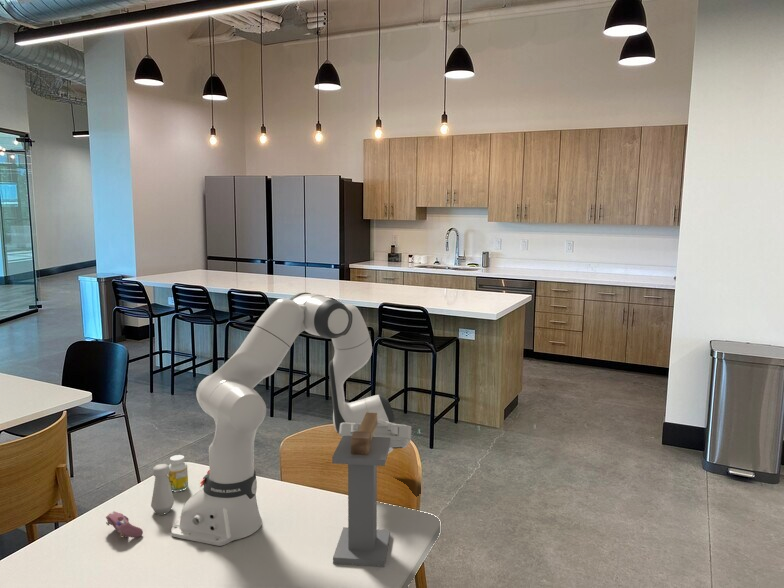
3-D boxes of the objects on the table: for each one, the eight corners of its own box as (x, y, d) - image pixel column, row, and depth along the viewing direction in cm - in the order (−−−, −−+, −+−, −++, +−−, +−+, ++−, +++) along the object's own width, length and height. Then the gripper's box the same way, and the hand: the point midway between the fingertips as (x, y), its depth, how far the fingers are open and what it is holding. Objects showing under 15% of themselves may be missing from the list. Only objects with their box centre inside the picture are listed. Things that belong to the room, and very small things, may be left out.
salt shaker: (166, 517, 151) (163, 471, 150) (147, 515, 153) (144, 469, 151) (178, 506, 157) (176, 462, 155) (160, 504, 158) (157, 460, 156)
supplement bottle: (190, 489, 167) (189, 458, 166) (171, 494, 164) (170, 463, 163) (185, 482, 172) (183, 452, 170) (166, 487, 168) (165, 456, 167)
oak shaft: (351, 454, 130) (351, 437, 130) (364, 423, 150) (364, 408, 149) (368, 455, 130) (368, 438, 129) (379, 423, 149) (379, 409, 149)
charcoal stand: (333, 563, 132) (332, 457, 128) (343, 532, 145) (343, 435, 141) (384, 566, 131) (384, 459, 127) (390, 535, 144) (390, 437, 140)
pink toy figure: (113, 533, 147) (98, 515, 144) (128, 519, 149) (115, 501, 146) (129, 548, 140) (115, 529, 137) (145, 533, 143) (131, 515, 140)
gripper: (344, 422, 168) (336, 413, 155) (413, 426, 166) (410, 417, 153) (342, 444, 165) (333, 437, 153) (411, 448, 163) (409, 441, 151)
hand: (372, 427), depth 153 cm, fingers open, 8 cm apart
